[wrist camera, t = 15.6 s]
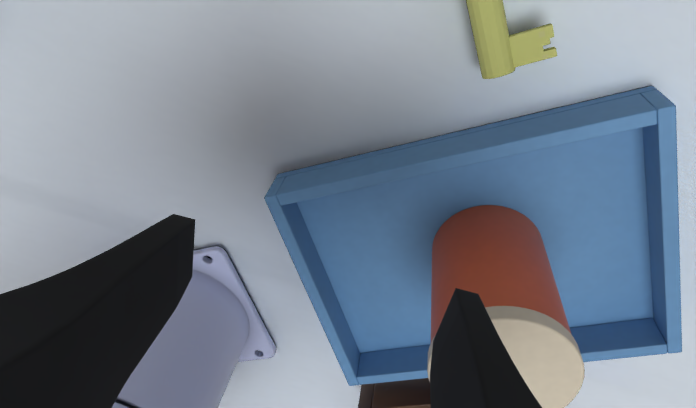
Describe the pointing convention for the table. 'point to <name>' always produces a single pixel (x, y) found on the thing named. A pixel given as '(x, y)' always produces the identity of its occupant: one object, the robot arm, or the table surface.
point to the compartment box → (396, 394)
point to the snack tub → (509, 295)
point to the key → (505, 40)
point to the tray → (502, 190)
